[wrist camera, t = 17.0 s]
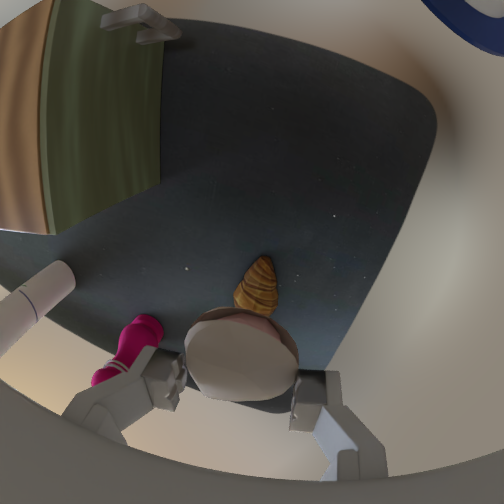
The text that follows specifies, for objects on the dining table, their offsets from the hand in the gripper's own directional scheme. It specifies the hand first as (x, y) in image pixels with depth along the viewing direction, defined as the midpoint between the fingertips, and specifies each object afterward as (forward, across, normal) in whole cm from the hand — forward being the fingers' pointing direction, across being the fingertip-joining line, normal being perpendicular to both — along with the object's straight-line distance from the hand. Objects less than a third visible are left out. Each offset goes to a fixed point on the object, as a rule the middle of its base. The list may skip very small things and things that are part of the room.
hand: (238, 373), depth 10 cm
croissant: (+31, +3, +16) cm, 35 cm away
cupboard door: (+31, +15, -12) cm, 36 cm away
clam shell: (+2, 0, 0) cm, 2 cm away
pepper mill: (+31, +23, +26) cm, 47 cm away
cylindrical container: (+31, +43, +18) cm, 56 cm away
